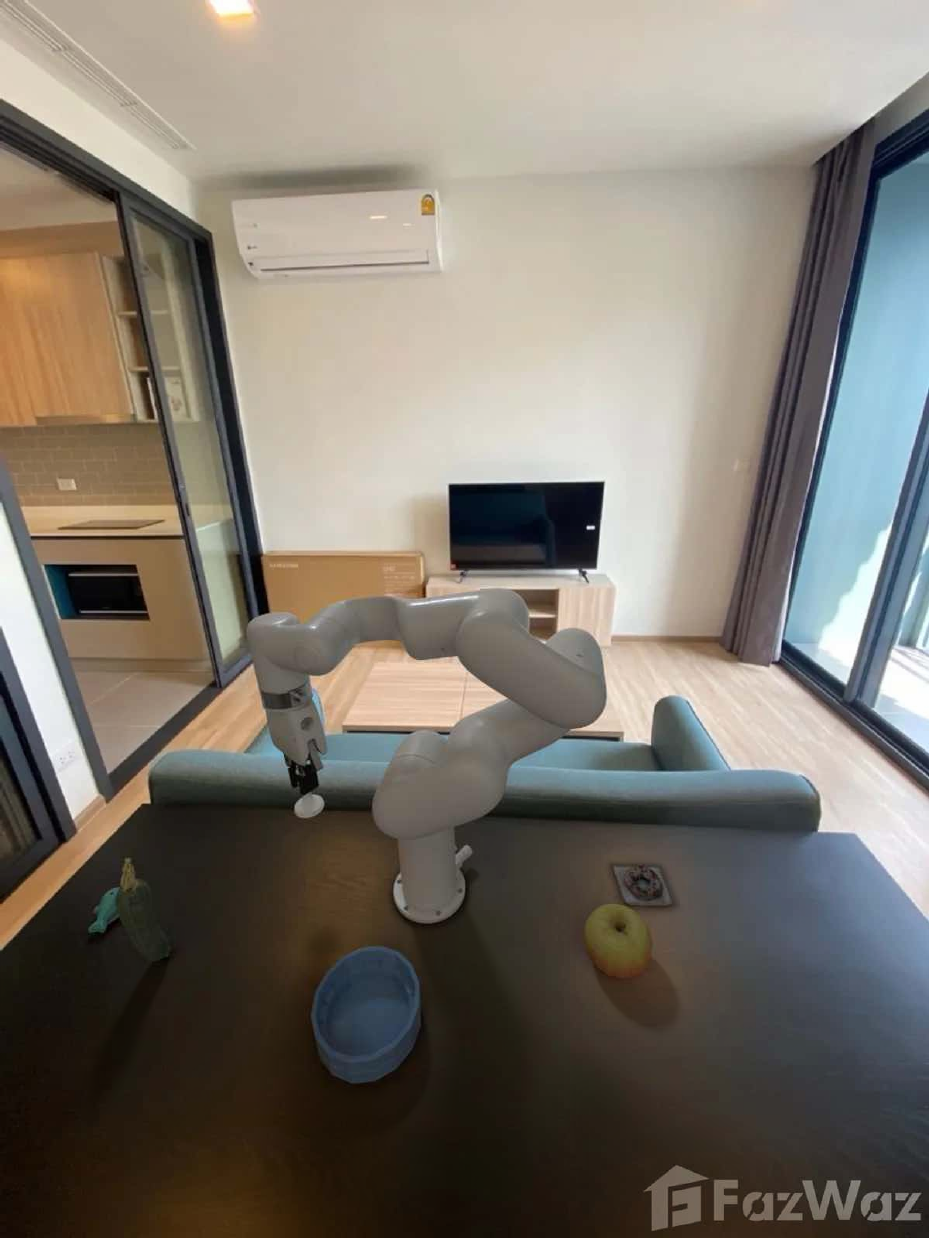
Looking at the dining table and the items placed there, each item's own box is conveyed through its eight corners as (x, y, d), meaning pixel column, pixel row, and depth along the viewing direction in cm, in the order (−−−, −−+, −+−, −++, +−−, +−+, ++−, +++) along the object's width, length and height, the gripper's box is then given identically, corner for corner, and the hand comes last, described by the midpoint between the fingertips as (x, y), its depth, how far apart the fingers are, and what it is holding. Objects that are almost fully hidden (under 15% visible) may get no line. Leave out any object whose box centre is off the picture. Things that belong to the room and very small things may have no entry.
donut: (623, 905, 84) (624, 896, 84) (612, 866, 92) (613, 858, 91) (673, 906, 84) (675, 897, 83) (658, 867, 91) (660, 859, 90)
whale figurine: (143, 897, 88) (137, 881, 86) (113, 937, 81) (106, 921, 79) (112, 896, 88) (105, 880, 87) (79, 936, 81) (72, 919, 80)
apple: (639, 1004, 70) (645, 967, 67) (573, 968, 75) (576, 931, 72) (655, 946, 78) (661, 910, 75) (594, 916, 83) (598, 881, 80)
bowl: (376, 949, 78) (373, 927, 76) (442, 1014, 69) (440, 991, 68) (296, 1028, 68) (290, 1005, 66) (361, 1115, 60) (357, 1091, 58)
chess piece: (329, 800, 87) (321, 753, 83) (312, 820, 82) (302, 771, 79) (306, 794, 88) (296, 748, 85) (288, 814, 84) (277, 766, 80)
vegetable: (158, 978, 75) (120, 881, 67) (133, 972, 76) (93, 876, 68) (179, 949, 79) (146, 855, 71) (155, 944, 80) (120, 850, 72)
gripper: (336, 698, 74) (352, 795, 81) (282, 668, 84) (299, 757, 91) (291, 720, 69) (312, 822, 76) (239, 685, 79) (261, 778, 86)
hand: (305, 786), depth 84 cm, fingers closed on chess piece
